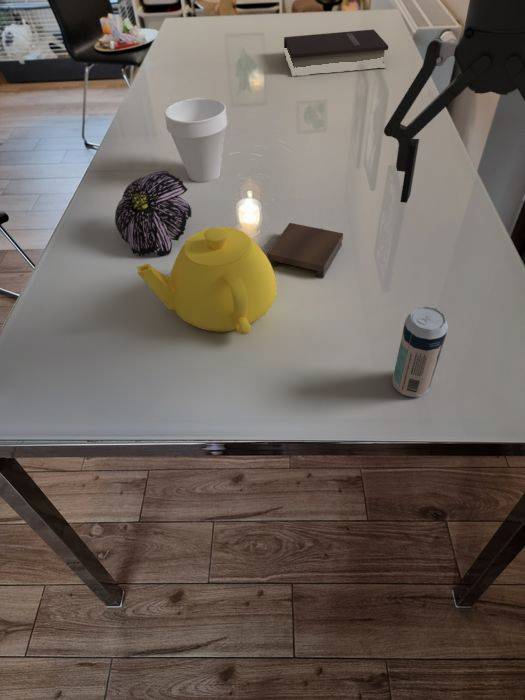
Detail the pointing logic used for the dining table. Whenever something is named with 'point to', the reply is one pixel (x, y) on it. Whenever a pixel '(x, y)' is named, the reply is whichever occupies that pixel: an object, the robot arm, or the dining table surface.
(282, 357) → the dining table surface
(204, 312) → the teapot
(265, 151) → the dining table surface
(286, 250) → the flat wooden board
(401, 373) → the beer can
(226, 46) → the dining table surface
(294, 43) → the book
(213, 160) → the cup
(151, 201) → the decorative flower
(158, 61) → the dining table surface
